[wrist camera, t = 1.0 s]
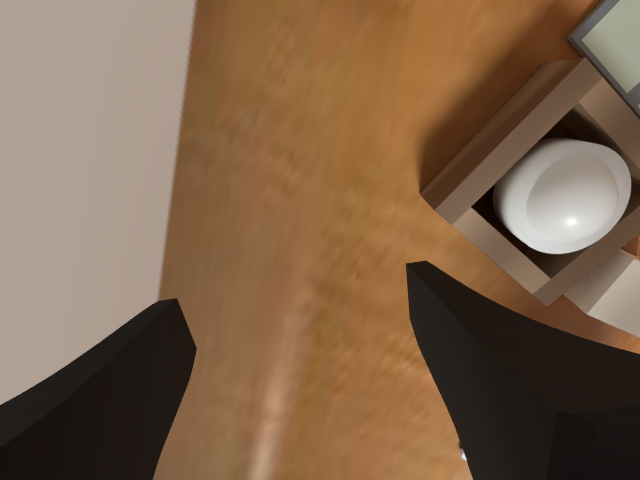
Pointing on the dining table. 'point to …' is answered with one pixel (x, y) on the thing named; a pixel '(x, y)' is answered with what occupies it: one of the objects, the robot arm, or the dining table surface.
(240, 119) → the dining table surface
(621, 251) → the white cube
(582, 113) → the dome housing
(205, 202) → the dining table surface
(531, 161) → the dome
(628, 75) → the track
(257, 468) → the dining table surface
